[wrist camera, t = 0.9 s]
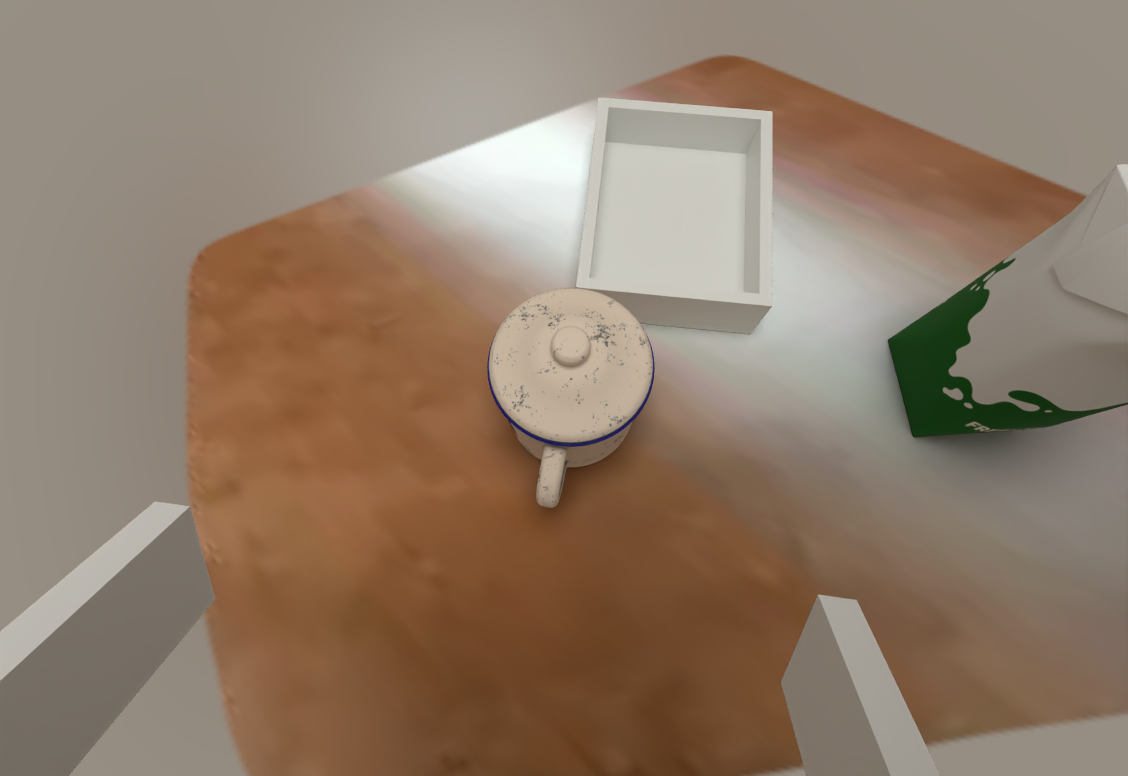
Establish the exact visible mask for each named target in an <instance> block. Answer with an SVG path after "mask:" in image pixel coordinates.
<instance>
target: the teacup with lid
mask: <svg viewBox="0 0 1128 776" xmlns="http://www.w3.org/2000/svg"><path fill="white" fill-rule="evenodd" d="M653 379H654V356H653V352H652V347H651V344H650V341H649V339H648V337H647V334H646V333H645V331H644V329H643V327H642V326H641V324H640V323H639V322H638V320H637V319H636V318H635V317H634V315H633V314H632V313H631V312H630V311H629V310H628V309H627V308H625V307H624V306H623V305H622V304H620V303H619V302H617V301H616V300H614V299H612V298H610V297H608V296H606V295H604V294H601V293H598V292H595V291H591V290H587V289H579V288H562V289H555V290H551V291H547V292H544V293H541V294H538V295H536V296H534V297H532V298H530V299H528V300H526V301H525V302H523V303H522V304H520V305H519V306H518V307H517V308H515V309H514V310H513V311H512V312H511V313H510V314H509V315H508V316H507V318H506V319H505V320H504V321H503V323H502V324H501V326H500V327H499V329H498V331H497V333H496V334H495V336H494V339H493V341H492V344H491V347H490V351H489V356H488V380H489V385H490V389H491V392H492V395H493V397H494V399H495V402H496V404H497V405H498V407H499V409H500V410H501V412H502V413H503V414H504V416H505V417H506V418H507V419H508V420H509V423H510V425H511V427H512V429H513V432H514V434H515V435H516V437H517V439H518V440H519V442H520V443H521V444H522V445H523V447H524V448H525V449H526V450H527V451H529V452H530V453H531V454H532V455H534V456H535V457H537V458H538V459H540V460H542V461H541V466H540V471H539V477H538V483H537V491H536V499H537V502H538V504H539V505H541V506H544V507H549V508H553V507H555V506H556V505H557V504H558V502H559V499H560V496H561V492H562V488H563V483H564V478H565V473H566V468H567V467H581V466H586V465H590V464H593V463H596V462H598V461H600V460H602V459H604V458H605V457H607V456H608V455H610V454H611V453H612V452H613V451H614V450H616V449H617V448H618V446H619V445H620V444H621V443H622V442H623V440H624V439H625V437H626V435H627V434H628V432H629V429H630V427H631V425H632V422H633V420H634V419H635V418H636V417H637V415H638V414H639V413H640V411H641V410H642V408H643V407H644V405H645V403H646V401H647V399H648V397H649V394H650V391H651V388H652V384H653Z"/></svg>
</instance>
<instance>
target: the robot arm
mask: <svg viewBox="0 0 1128 776" xmlns="http://www.w3.org/2000/svg"><path fill="white" fill-rule="evenodd" d="M214 600H215V597H214V593H213V589H212V586H211V582H210V578H209V574H208V571H207V567H206V563H205V560H204V556H203V552H202V549H201V545H200V541H199V538H198V534H197V530H196V527H195V523H194V519H193V516H192V512H191V508H190V506H183V505H176V504H168V503H162V502H154V503H153V504H152V505H150V507H148V508H147V509H146V510H144V511H143V512H142V513H141V514H140V515H139V516H138V517H136V518H135V519H134V520H133V521H132V522H130V523H129V524H128V525H127V526H125V527H124V528H123V529H122V530H121V531H120V532H118V533H117V534H116V535H115V536H114V537H112V538H111V539H110V540H109V541H108V542H106V543H105V544H104V545H103V546H102V547H100V548H99V549H98V550H97V551H96V552H94V553H93V554H92V555H91V556H90V557H89V558H87V559H86V560H85V561H84V562H83V563H81V564H80V565H79V566H78V567H77V568H76V569H74V570H73V571H72V572H71V573H70V574H68V575H67V576H66V577H65V578H64V579H62V580H61V581H60V582H59V583H58V584H56V585H55V586H54V587H53V588H52V589H51V590H49V591H48V592H47V593H46V594H45V595H43V596H42V597H41V598H40V599H39V600H37V601H36V602H35V603H34V604H33V605H31V606H30V607H29V608H28V609H27V610H25V611H24V612H23V613H22V614H21V615H20V616H18V617H17V618H16V619H15V620H14V621H12V622H11V623H10V624H9V625H8V626H6V627H5V628H4V629H3V630H2V631H0V776H69V775H70V774H71V772H72V771H73V770H74V769H75V768H76V766H77V765H78V764H79V763H80V761H81V760H82V759H83V758H84V757H85V756H86V754H87V753H88V752H89V751H90V749H91V748H92V747H93V746H94V745H95V743H96V742H97V741H98V740H99V739H100V737H101V736H102V735H103V734H104V732H105V731H106V730H107V729H108V728H109V727H110V725H111V724H112V723H113V722H114V720H115V719H116V718H117V717H118V716H119V715H120V713H121V712H122V711H123V710H124V709H125V707H126V706H127V705H128V704H129V702H130V701H131V700H132V699H133V698H134V697H135V695H136V694H137V693H138V692H139V690H140V689H141V688H142V687H143V686H144V684H145V683H146V682H147V681H148V680H149V678H150V677H151V676H152V675H153V674H154V672H155V671H156V670H157V669H158V668H159V666H160V665H161V664H162V663H163V662H164V660H165V659H166V658H167V656H168V655H169V654H170V653H171V652H172V651H173V650H174V648H175V647H176V646H177V645H178V644H179V642H180V641H181V640H182V639H183V638H184V636H185V635H186V634H187V633H188V631H189V630H190V629H191V628H192V627H193V625H194V624H195V623H196V622H197V621H198V619H199V618H200V617H201V616H202V615H203V613H204V612H205V611H206V610H207V609H208V607H209V606H210V605H211V604H212V603H213V601H214ZM781 685H782V689H783V692H784V696H785V700H786V703H787V707H788V711H789V714H790V718H791V722H792V725H793V729H794V732H795V736H796V740H797V743H798V747H799V751H800V754H801V758H802V762H803V765H804V769H805V772H806V776H940V774H939V772H938V770H937V768H936V766H935V764H934V762H933V760H932V758H931V756H930V753H929V751H928V749H927V747H926V745H925V743H924V741H923V739H922V737H921V734H920V732H919V730H918V728H917V726H916V724H915V722H914V720H913V718H912V716H911V713H910V711H909V709H908V707H907V705H906V703H905V701H904V699H903V697H902V694H901V692H900V690H899V688H898V686H897V684H896V682H895V680H894V678H893V676H892V673H891V671H890V669H889V667H888V665H887V663H886V661H885V659H884V657H883V654H882V652H881V650H880V648H879V646H878V644H877V642H876V640H875V638H874V636H873V633H872V631H871V629H870V627H869V625H868V623H867V621H866V619H865V617H864V614H863V612H862V610H861V608H860V606H859V604H858V602H857V600H853V599H846V598H839V597H832V596H825V595H818V596H817V598H816V601H815V603H814V605H813V608H812V610H811V612H810V615H809V617H808V620H807V622H806V624H805V627H804V629H803V631H802V634H801V636H800V638H799V641H798V643H797V646H796V648H795V650H794V653H793V655H792V657H791V660H790V662H789V664H788V667H787V669H786V672H785V674H784V676H783V679H782V681H781Z"/></svg>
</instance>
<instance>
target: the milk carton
mask: <svg viewBox="0 0 1128 776" xmlns="http://www.w3.org/2000/svg"><path fill="white" fill-rule="evenodd" d="M888 342H889V346H890V349H891V353H892V357H893V361H894V365H895V369H896V372H897V376H898V380H899V384H900V388H901V392H902V395H903V399H904V403H905V407H906V411H907V415H908V418H909V422H910V426H911V430H912V434H913V437H921V436H936V435H951V434H966V433H982V432H998V431H1012V430H1024V429H1035V428H1043V427H1048V426H1053V425H1056V424H1060V423H1064V422H1067V421H1071V420H1074V419H1078V418H1081V417H1085V416H1088V415H1092V414H1095V413H1099V412H1102V411H1106V410H1109V409H1113V408H1116V407H1120V406H1123V405H1127V404H1128V164H1124V165H1123V164H1122V165H1117V166H1116V167H1115V168H1114V169H1113V170H1112V171H1111V172H1110V173H1109V174H1108V176H1106V177H1105V179H1104V180H1103V181H1102V182H1101V183H1100V184H1099V185H1098V186H1097V187H1096V188H1095V189H1094V190H1093V191H1092V192H1091V193H1090V194H1089V195H1088V196H1087V197H1086V198H1085V199H1084V200H1083V201H1082V202H1081V203H1080V204H1079V205H1078V206H1077V207H1076V208H1075V209H1074V210H1073V211H1072V212H1071V213H1070V214H1068V215H1067V216H1066V217H1064V218H1063V219H1061V220H1060V221H1059V222H1057V223H1056V224H1054V225H1053V226H1052V227H1050V228H1049V229H1047V230H1046V231H1044V232H1043V233H1042V234H1040V235H1039V236H1037V237H1036V238H1034V239H1033V240H1032V241H1030V242H1029V243H1027V244H1026V245H1025V246H1023V247H1022V248H1020V249H1019V250H1017V251H1016V252H1015V253H1013V254H1012V255H1010V256H1009V257H1007V258H1006V259H1005V260H1003V261H1002V262H1000V263H999V264H998V265H996V266H995V267H993V268H992V269H990V270H989V271H988V272H986V273H985V274H983V275H982V276H980V277H979V278H978V279H976V280H975V281H973V282H972V283H971V284H969V285H968V286H966V287H965V288H963V289H962V290H961V291H959V292H958V293H956V294H955V295H953V296H952V297H950V298H949V299H947V300H946V301H944V302H943V303H942V304H940V305H939V306H937V307H936V308H934V309H933V310H931V311H930V312H928V313H927V314H925V315H924V316H923V317H921V318H920V319H918V320H917V321H915V322H914V323H912V324H911V325H909V326H908V327H906V328H905V329H903V330H902V331H901V332H899V333H898V334H896V335H895V336H893V337H892V338H890V339H889V340H888Z"/></svg>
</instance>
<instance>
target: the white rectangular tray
mask: <svg viewBox="0 0 1128 776" xmlns="http://www.w3.org/2000/svg"><path fill="white" fill-rule="evenodd" d="M576 288H579V289H587V290H591V291H595V292H598V293H601V294H604V295H606V296H608V297H610V298H612V299H614V300H616V301H617V302H619V303H620V304H622V305H623V306H624V307H625V308H627V309H628V310H629V311H630V312H631V313H632V314H633V315H634V317H635V318H636V319H637V320H638V322H639V323H643V324H653V325H664V326H674V327H684V328H694V329H704V330H714V331H724V332H734V333H744V334H751V333H752V331H753V330H754V329H755V327H756V326H757V325H758V324H759V322H760V321H761V320H762V318H763V317H764V316H765V315H766V313H767V312H768V311H769V309H770V308H771V307H772V111H760V110H748V109H736V108H723V107H711V106H698V105H686V104H673V103H661V102H649V101H636V100H624V99H611V98H599V99H598V108H597V116H596V124H595V133H594V141H593V149H592V158H591V166H590V174H589V183H588V191H587V199H586V208H585V216H584V224H583V233H582V241H581V249H580V258H579V266H578V274H577V282H576Z"/></svg>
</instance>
